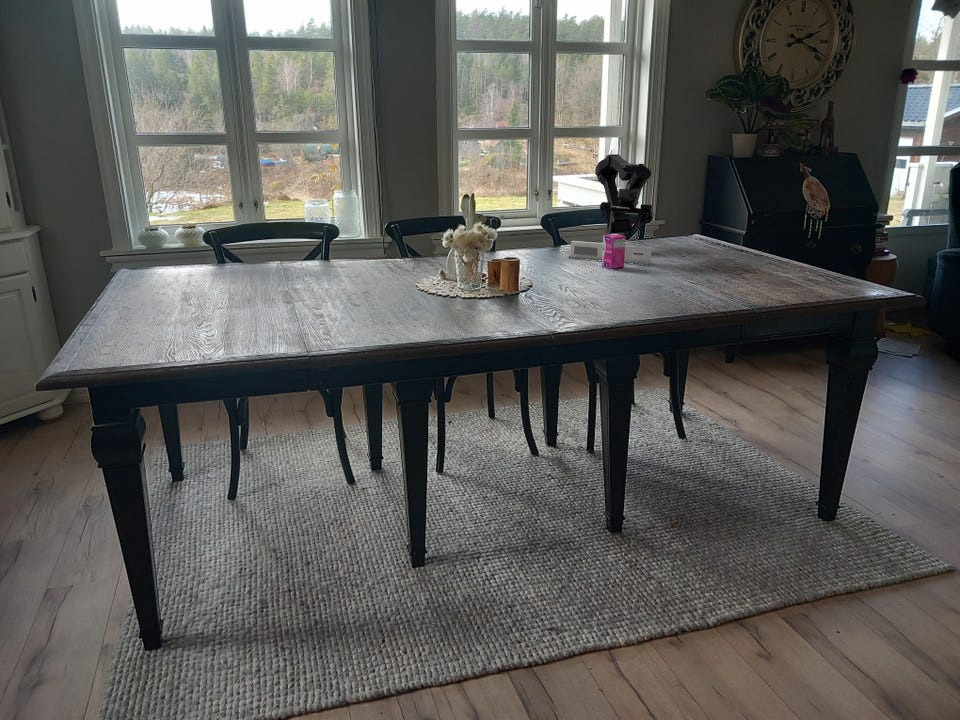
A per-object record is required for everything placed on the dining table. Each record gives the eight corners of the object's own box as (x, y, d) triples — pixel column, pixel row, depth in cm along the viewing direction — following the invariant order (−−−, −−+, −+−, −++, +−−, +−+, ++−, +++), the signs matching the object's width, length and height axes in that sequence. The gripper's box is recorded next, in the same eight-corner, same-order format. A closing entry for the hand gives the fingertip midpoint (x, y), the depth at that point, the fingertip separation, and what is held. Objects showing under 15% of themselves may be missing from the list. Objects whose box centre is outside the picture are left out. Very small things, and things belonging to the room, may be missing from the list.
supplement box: (600, 267, 254) (602, 234, 250) (614, 265, 257) (616, 233, 253) (611, 270, 249) (613, 237, 246) (624, 268, 252) (626, 235, 248)
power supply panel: (574, 255, 274) (574, 240, 272) (652, 262, 261) (653, 246, 259) (568, 258, 269) (569, 242, 267) (647, 265, 256) (648, 249, 254)
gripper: (602, 178, 258) (591, 213, 252) (654, 181, 250) (643, 217, 244) (608, 199, 267) (597, 233, 261) (658, 201, 259) (648, 237, 253)
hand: (620, 229), depth 254 cm, fingers open, 9 cm apart
